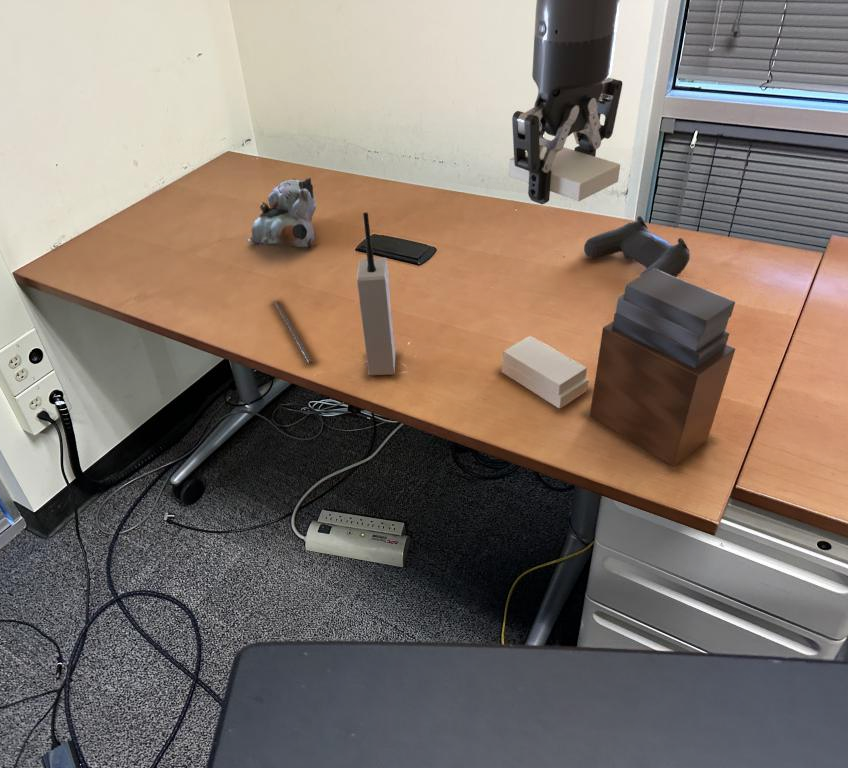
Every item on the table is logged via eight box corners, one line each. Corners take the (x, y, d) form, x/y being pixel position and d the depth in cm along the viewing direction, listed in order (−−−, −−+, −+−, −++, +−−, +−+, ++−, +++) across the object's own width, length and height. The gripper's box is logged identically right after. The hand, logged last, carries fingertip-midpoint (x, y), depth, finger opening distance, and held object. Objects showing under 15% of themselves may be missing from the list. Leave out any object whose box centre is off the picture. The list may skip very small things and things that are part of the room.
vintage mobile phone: (395, 354, 103) (381, 200, 87) (394, 375, 99) (379, 218, 83) (370, 355, 104) (352, 202, 88) (368, 376, 100) (349, 220, 84)
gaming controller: (656, 309, 107) (707, 265, 106) (646, 288, 103) (698, 242, 102) (587, 264, 120) (632, 223, 118) (576, 244, 116) (622, 201, 114)
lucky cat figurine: (241, 240, 138) (248, 169, 134) (297, 247, 143) (306, 178, 139) (261, 250, 125) (270, 170, 121) (322, 256, 129) (333, 181, 126)
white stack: (587, 390, 92) (590, 368, 89) (559, 409, 90) (562, 387, 87) (528, 356, 99) (530, 334, 96) (501, 372, 97) (502, 351, 94)
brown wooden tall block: (707, 440, 82) (750, 301, 70) (672, 467, 80) (710, 328, 67) (623, 392, 91) (647, 260, 78) (589, 415, 88) (609, 283, 75)
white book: (618, 182, 73) (620, 163, 72) (578, 201, 71) (580, 183, 70) (546, 158, 80) (547, 141, 79) (508, 176, 78) (508, 159, 77)
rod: (278, 304, 119) (278, 300, 118) (312, 364, 105) (311, 360, 104) (275, 305, 119) (274, 301, 118) (308, 365, 104) (307, 361, 104)
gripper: (553, 53, 61) (541, 224, 71) (657, 13, 66) (631, 178, 77) (492, 41, 66) (489, 203, 76) (593, 5, 71) (577, 161, 82)
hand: (560, 190), depth 76 cm, fingers closed on white book, 6 cm apart
